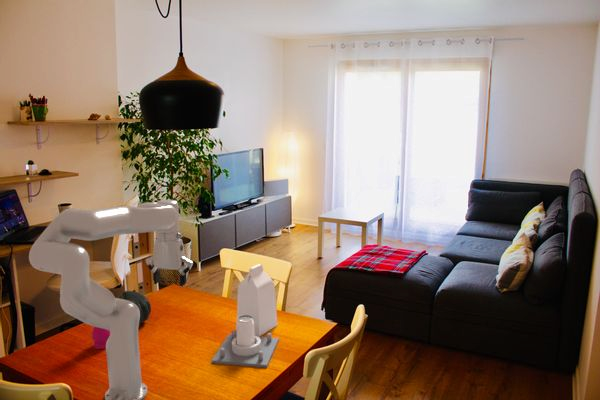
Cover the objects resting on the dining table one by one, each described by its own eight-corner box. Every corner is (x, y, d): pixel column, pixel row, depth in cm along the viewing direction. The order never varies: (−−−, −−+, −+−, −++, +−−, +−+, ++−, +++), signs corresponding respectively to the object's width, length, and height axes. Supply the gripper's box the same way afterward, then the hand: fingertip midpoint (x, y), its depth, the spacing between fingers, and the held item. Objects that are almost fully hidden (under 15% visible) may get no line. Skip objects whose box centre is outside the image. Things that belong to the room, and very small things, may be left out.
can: (233, 350, 184) (232, 320, 181) (243, 343, 189) (242, 313, 187) (248, 354, 181) (247, 323, 178) (258, 346, 186) (257, 316, 184)
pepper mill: (106, 350, 186) (101, 300, 182) (88, 348, 188) (83, 298, 184) (117, 341, 193) (112, 292, 189) (100, 339, 195) (95, 291, 191)
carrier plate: (267, 367, 174) (266, 357, 173) (211, 362, 177) (211, 352, 177) (278, 340, 193) (278, 330, 193) (228, 336, 197) (228, 327, 196)
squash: (163, 305, 213) (139, 278, 213) (144, 321, 199) (119, 293, 199) (142, 323, 218) (120, 297, 218) (122, 340, 204) (98, 312, 204)
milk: (259, 336, 197) (257, 273, 192) (236, 329, 203) (234, 267, 198) (277, 325, 207) (276, 264, 201) (255, 318, 213) (254, 259, 208)
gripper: (196, 235, 174) (197, 282, 176) (150, 232, 177) (152, 278, 180) (187, 240, 166) (188, 289, 169) (139, 237, 170) (141, 285, 173)
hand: (169, 283), depth 175 cm, fingers open, 9 cm apart
